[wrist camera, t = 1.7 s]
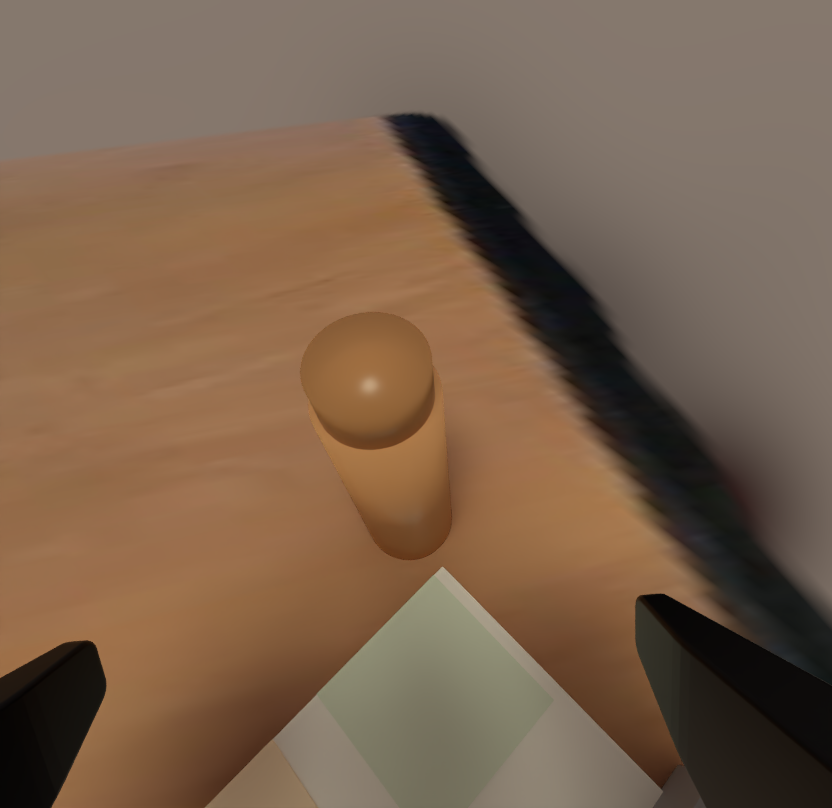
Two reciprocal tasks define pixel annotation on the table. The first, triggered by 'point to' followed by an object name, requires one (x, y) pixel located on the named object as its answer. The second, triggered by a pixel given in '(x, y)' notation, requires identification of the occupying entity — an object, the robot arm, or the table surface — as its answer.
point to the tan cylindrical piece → (383, 427)
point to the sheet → (446, 728)
